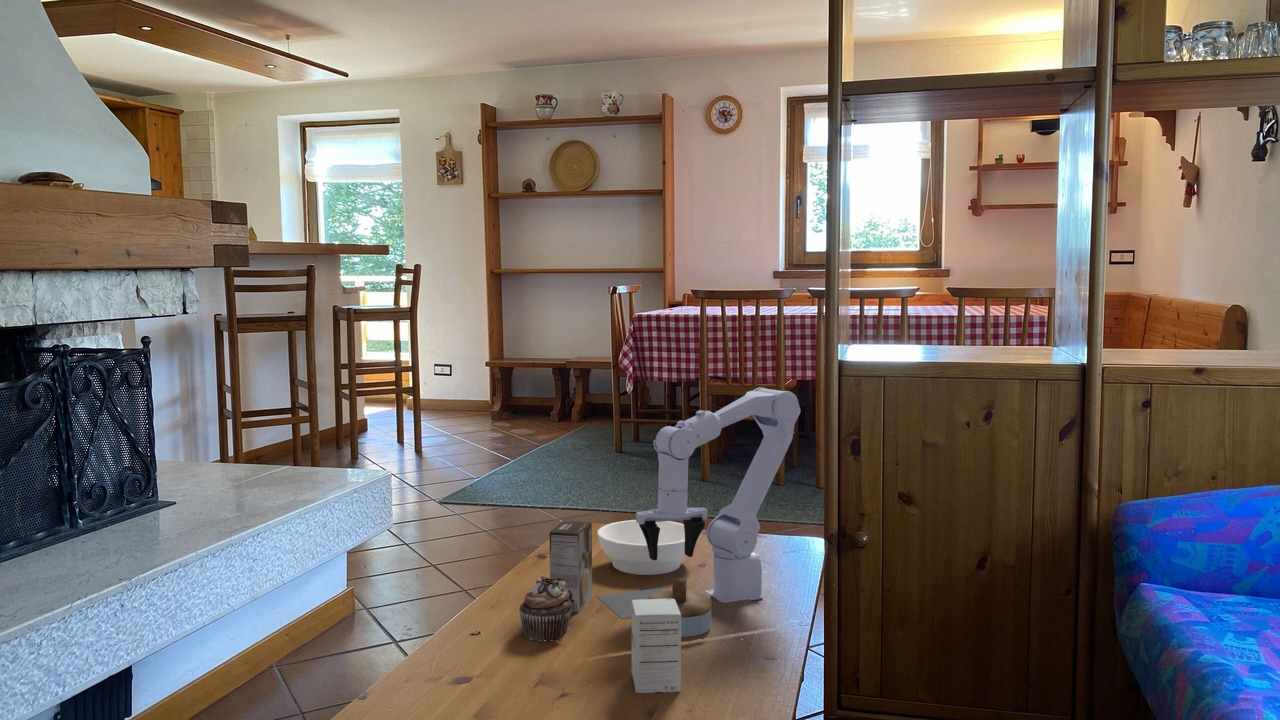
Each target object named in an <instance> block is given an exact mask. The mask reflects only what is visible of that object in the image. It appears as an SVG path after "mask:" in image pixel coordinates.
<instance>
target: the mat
mask: <svg viewBox="0 0 1280 720" xmlns="http://www.w3.org/2000/svg"><path fill="white" fill-rule="evenodd" d="M662 591H664V590H663V589H662V588H660V587H658V588H657V587H655V588H648V589H642V590H633V591H632V590H631V591H626V592H625V591H624V592H617V593H612V594H611V593H609V594H603V595H596V596H595V597H596V598H597V599H598V600H600V602H602V603H603V604H604V605H605V606H606V607H607V608H609V609H610V610H611V611H612V612H613V613H614V614H615V615H616V616H618V618H620V619H621V620H627V619H632V600H639V599H648V597H649V596H651V595H652V594H655V593H658V592H662Z"/></svg>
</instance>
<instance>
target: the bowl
mask: <svg viewBox="0 0 1280 720" xmlns="http://www.w3.org/2000/svg"><path fill="white" fill-rule="evenodd" d="M656 524H657V526H658V527H659V528H660V532H659V537H658V555H657V560H652V559H651V558H650V557H649V551H648V546H647V543H646V540H645V537H644V534H643V532H642V530H641V528H640V526H639V523H637V522H636V519H630V520H622V521H617V522H612V523H608V524H605V525H603V526H602V527H600V528H598V530H596V531H597V533H596V534H597V538H598V540H599V544H600V546H601V549H602V552H603V553H604V554H605V555H606V556H607V557H609V558H610V560H611V561H610V562H612V566H613V568H614V569H616V570H618V571H620V572H622V573H627V574H630V575H641V576H655V575H656V576H657V575H664V574H668V573H672V572H674V571H675V572H676V570H678V569H679V568H680V567H681V565H682V562H683V558H685V557H688V556H687V555H685V549H684V548H685V531H684V523H681V522H677V521H664V522H656Z"/></svg>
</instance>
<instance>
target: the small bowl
mask: <svg viewBox="0 0 1280 720" xmlns="http://www.w3.org/2000/svg"><path fill="white" fill-rule="evenodd" d="M711 626H712V609H711V610H710V611H709V612H707V613H705V614H702V615H699V616H694V617H681V638H682V637H684V638H685V637H694V636H700V635H704V634H705V633H707V632H708V631H710V629H711Z"/></svg>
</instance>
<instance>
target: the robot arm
mask: <svg viewBox="0 0 1280 720" xmlns="http://www.w3.org/2000/svg"><path fill="white" fill-rule="evenodd" d="M801 411H802V410H801V407H800V404H799V400H798V397H797V395H796V394H795V393H793V392H792V391H789V390H778V389H769V388H766V387H757V388H754V389H753V390H749V391H747V392H746V393H745V395H743V396H742V397H740V398H738V399H736V400H734V401H732V402H731V403H729V404H728V405H725V406H724V407H722V408H720V409H718V410H716V411H715V412H711V411H710V410H701V409H700V410H697V411H696V412H695V415H694V416H692V417H690V418H687V419H685V420H679V421H677V422H676V425H675V426H671V425H666V426H664V427H662V428H661V429H659V431H658V432H657V434H656V435H655V436H656V437H655V439H654V440H652V441H653V442H652V443H653V447H654V450H655V451H656V453H657V460H658V483H657V485H658V487H657V489H658V492H657V508H655V509H650V510H645V511H637V512H635V520H636V522H637V523H639V526H640V528H641V530H642V532H643V534H644V537H645V540H646V543H647V546H648V551H649V557H650V558H651V559H652V560H657V555H658V537H659V532H660V528H659V527H658V526H657V524H656V522H664V521H671V522H677V521H682V522H683V523H682V524H684V531H685V548H684V549H685V555H687V556H686V557H689V558H692V557H693V556H694V552H695V548H696V544H697V542H698V539H699V537H700V535H701V533H702V531H703V530H704V528H705V526H706V522H705V521H704V520H708V511H709V510H708V509H707V508H705V507H688V485H689V484H688V483H689V482H688V481H689V459H690V457H691V456H692V455H693V453H694V451H695V449H696V448H698V447H700V446H702V445H704V444H706V443H708V442H710V441H713V440H714V439H717V438H718V437H719V436H720V435H721V431H722V429H723V428H725V427H727V426H731V425H732V424H735V423H737V422H739V421H741V420H744V419H747V418H749V417H751V416H752V417H753V418H754V420H755V422H756V423H757V425H758V426H759V427H758V428H760V430H761V431H762V434H763V438H762V440H761V443H760V445H759V447H758V448H757V451H756V453H755V455H754V457H753V458H752V460H751V462H750V465H749V467H748V469H747V471H746V474H745V475H744V478H743V479H742V482H741V484H740V486H739V488H738V490H737V492H736V494H735V496H734V497H733V500H732V502H731V503H730V504H728V505H727V506H725V507H723V508H721V509H720V510H719V512H718V514H717V516H716V517H715V518H714V519H713V520H711V522H710V523H709V524H708V526H707V527H706V539H707V541H708V543H709V545H711V546H712V547H711V548H712V549H711V551H712V552H713V570H712V571H713V572H712V573H713V575H712V576H713V577H712V578H713V579H712V580H713V581H712V589H707V590H705V592H706V593H707V594H709V595H710V596H712V597H713V598H715V600H716V599H717V601H719V602H721V603H722V604H725V603H731V602H732V603H733V602H737V601H744V600H750V601H756V600H763V599H764V595H762V579H763V578H762V575H763V574H762V570H763V567H762V562H761V558H760V556H759V555H758V554H757V553H756V552H754V551H755V549H756V547H757V544H758V535H759V532H760V530H761V525H760V522H759V520H758V518H757V514H758V512H759V510H760V508H761V506H762V504H763V501H764V499H765V497H766V495H767V493H768V491H769V489H770V488H771V485H772V482H773V481H774V479H775V477H776V474H777V473H778V470H779V468H780V467H781V464H782V462H783V460H784V458H785V455H786V453H787V452H788V449H789V447H790V445H791V443H792V441H793V437H794V430H795V424H796V422H797V421H798V418H799V416H800V414H801Z"/></svg>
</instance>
